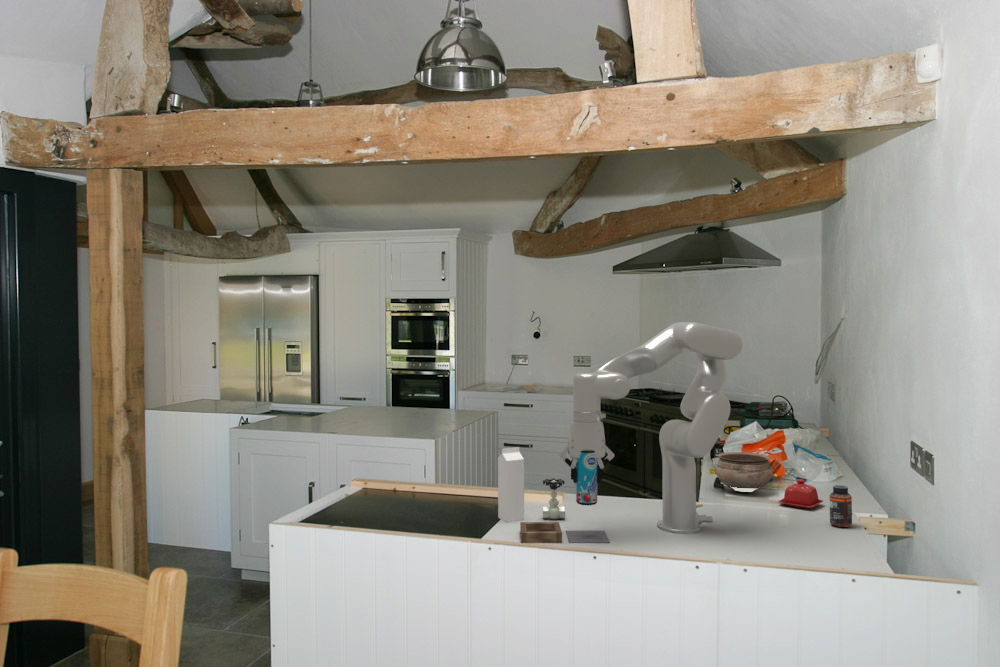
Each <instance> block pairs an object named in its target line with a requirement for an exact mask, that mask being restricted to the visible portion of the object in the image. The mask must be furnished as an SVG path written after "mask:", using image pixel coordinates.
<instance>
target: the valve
mask: <svg viewBox="0 0 1000 667" xmlns="http://www.w3.org/2000/svg"><path fill="white" fill-rule="evenodd" d="M542 484H543V485H545V486H549V488H550V490H551V492H550V499H549V501H548V505H549V506H542V519H543V520H551V521H552V520H553V521H557V520H558V519H559V520H565V519H566V510H565V509H566V507H565V506H559V502H560V501H559V500H558V499H557V497H558V493H557V491H556V490H557V489H559V488H560V487H561V486H563V485H565V480H564V479H562V478H558V479H557V478H555V477H553V478H551V479H549V478H545V479H543V480H542Z"/></svg>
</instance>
